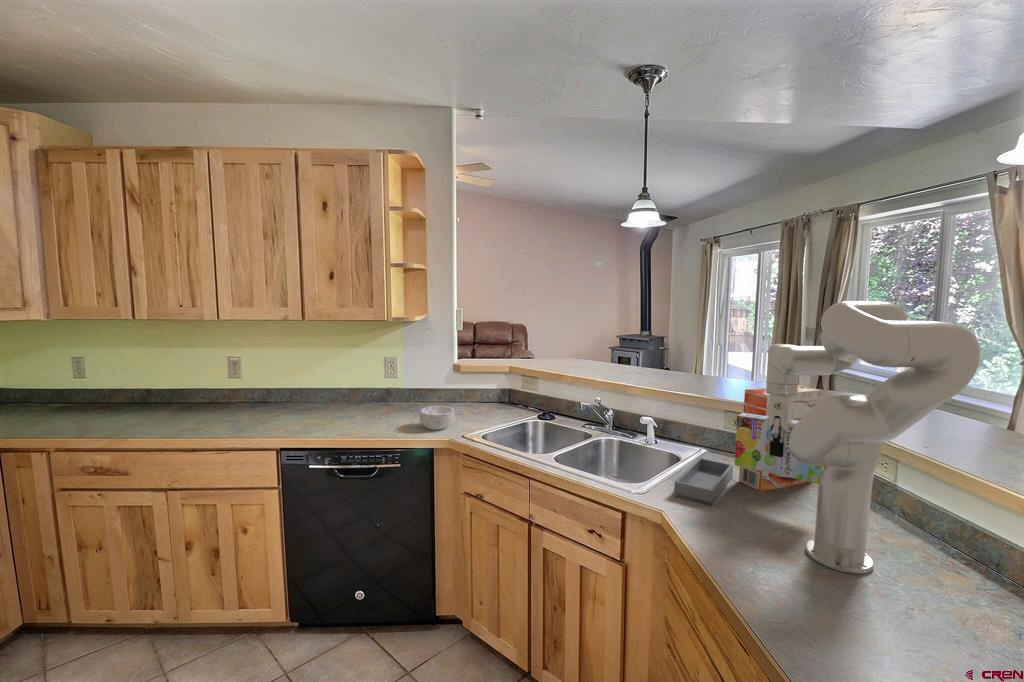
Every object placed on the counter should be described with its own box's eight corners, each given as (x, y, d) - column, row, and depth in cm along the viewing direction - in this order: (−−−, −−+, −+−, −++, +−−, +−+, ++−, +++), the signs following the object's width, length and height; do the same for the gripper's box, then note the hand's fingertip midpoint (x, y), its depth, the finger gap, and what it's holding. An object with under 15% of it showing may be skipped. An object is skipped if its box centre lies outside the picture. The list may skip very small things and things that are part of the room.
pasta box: (760, 491, 141) (767, 395, 138) (739, 481, 149) (744, 389, 146) (813, 481, 149) (820, 389, 146) (790, 472, 157) (796, 385, 154)
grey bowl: (451, 432, 197) (451, 414, 196) (416, 432, 197) (416, 413, 196) (456, 422, 212) (456, 405, 211) (423, 422, 212) (423, 405, 212)
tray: (711, 506, 131) (712, 491, 130) (673, 496, 137) (674, 481, 137) (732, 478, 151) (733, 464, 151) (698, 470, 158) (699, 457, 157)
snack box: (823, 479, 124) (827, 424, 123) (819, 485, 120) (823, 428, 119) (739, 460, 139) (741, 411, 137) (733, 465, 135) (735, 414, 133)
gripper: (793, 395, 118) (789, 464, 120) (801, 386, 132) (797, 448, 134) (760, 391, 123) (757, 458, 124) (771, 383, 137) (767, 443, 138)
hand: (777, 452), depth 129 cm, fingers closed on snack box, 5 cm apart
